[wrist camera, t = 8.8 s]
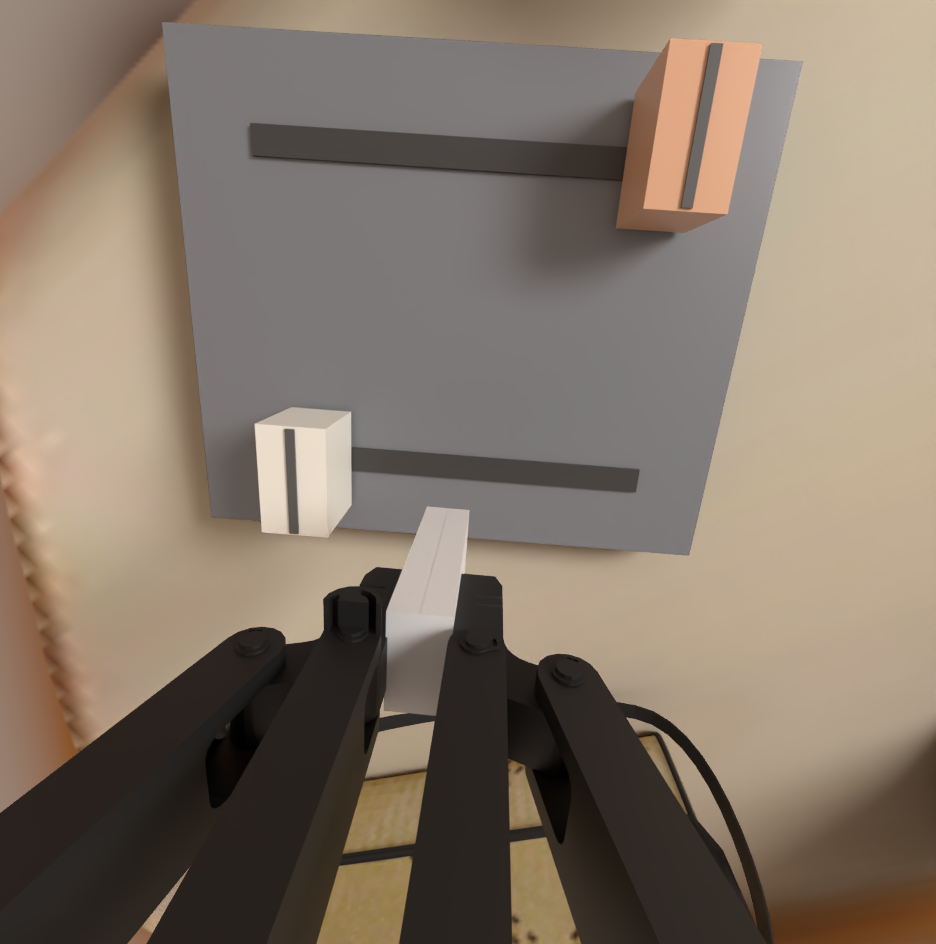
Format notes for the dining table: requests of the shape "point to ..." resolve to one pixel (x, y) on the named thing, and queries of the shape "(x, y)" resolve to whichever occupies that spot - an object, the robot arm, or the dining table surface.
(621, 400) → the slider panel
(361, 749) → the robot arm
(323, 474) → the fader
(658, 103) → the fader
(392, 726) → the clutch purse
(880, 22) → the dining table surface
